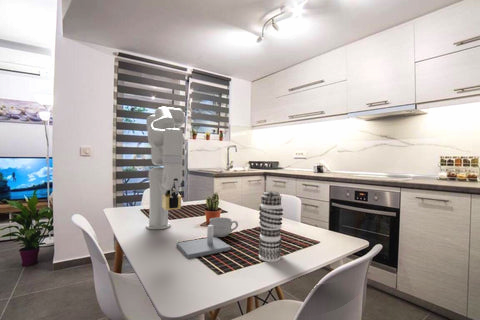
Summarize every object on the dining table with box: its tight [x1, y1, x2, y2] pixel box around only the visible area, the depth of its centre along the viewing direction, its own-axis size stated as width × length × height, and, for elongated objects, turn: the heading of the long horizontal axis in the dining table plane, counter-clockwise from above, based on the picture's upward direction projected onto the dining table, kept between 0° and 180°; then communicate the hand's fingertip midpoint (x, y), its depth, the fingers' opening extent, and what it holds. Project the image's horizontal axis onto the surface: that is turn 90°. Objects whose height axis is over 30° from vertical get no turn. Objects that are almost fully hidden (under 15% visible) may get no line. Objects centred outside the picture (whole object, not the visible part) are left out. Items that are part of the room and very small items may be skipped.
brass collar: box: [162, 194, 182, 211], centre depth 95 cm, size 6×6×5 cm
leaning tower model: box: [258, 190, 284, 263], centre depth 93 cm, size 9×9×25 cm
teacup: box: [209, 216, 239, 238], centre depth 117 cm, size 14×11×8 cm
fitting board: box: [176, 224, 231, 259], centre depth 100 cm, size 14×18×9 cm
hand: (171, 205), depth 95 cm, fingers closed on brass collar, 5 cm apart
